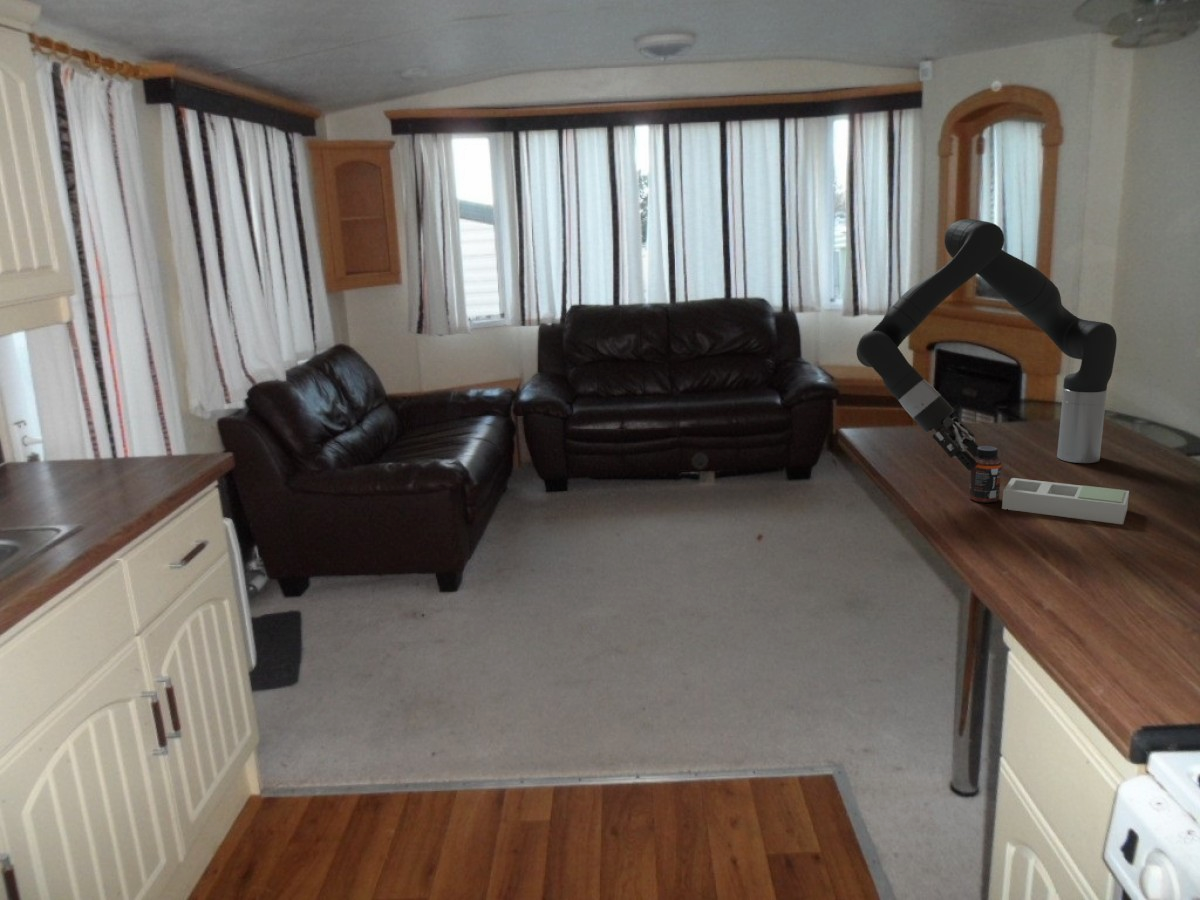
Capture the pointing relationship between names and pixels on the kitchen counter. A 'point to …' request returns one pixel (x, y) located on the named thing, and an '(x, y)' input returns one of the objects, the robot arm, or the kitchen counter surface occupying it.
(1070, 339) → the robot arm
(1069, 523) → the kitchen counter surface
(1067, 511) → the board
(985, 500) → the supplement bottle
